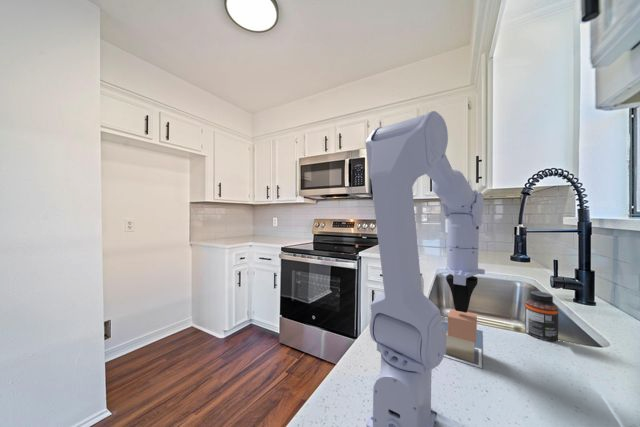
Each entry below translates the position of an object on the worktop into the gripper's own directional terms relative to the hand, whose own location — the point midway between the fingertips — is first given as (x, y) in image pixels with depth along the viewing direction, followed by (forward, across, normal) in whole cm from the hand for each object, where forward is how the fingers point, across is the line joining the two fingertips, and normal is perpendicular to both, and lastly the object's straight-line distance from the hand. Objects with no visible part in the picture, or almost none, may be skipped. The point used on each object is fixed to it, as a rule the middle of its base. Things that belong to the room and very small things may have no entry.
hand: (461, 310), depth 51 cm
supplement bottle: (+10, +20, -16) cm, 28 cm away
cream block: (+9, 0, 0) cm, 9 cm away
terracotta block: (+5, 0, 0) cm, 5 cm away
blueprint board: (+10, +5, +3) cm, 11 cm away
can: (+10, +18, +14) cm, 25 cm away
